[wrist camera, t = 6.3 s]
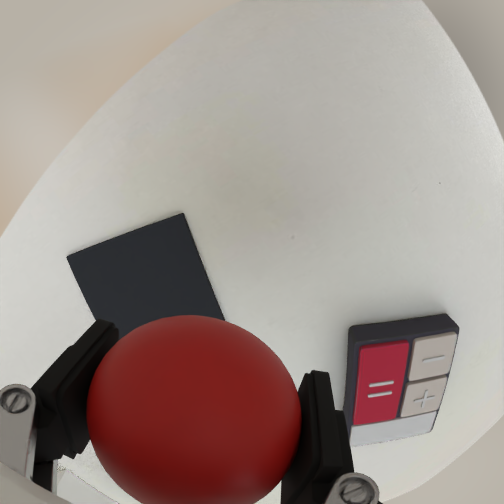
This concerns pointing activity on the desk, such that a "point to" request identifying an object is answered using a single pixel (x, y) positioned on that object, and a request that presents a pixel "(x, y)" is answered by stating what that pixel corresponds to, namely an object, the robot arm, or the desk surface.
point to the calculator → (397, 377)
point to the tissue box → (79, 490)
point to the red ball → (193, 413)
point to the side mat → (145, 276)
